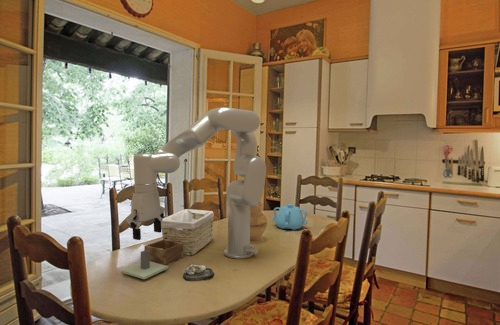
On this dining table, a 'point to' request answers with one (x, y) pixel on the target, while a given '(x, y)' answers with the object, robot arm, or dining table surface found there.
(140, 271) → the lid
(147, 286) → the dining table surface
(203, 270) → the grey oval ornament
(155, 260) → the box
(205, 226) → the storage basket
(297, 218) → the decorative pot
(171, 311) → the dining table surface
